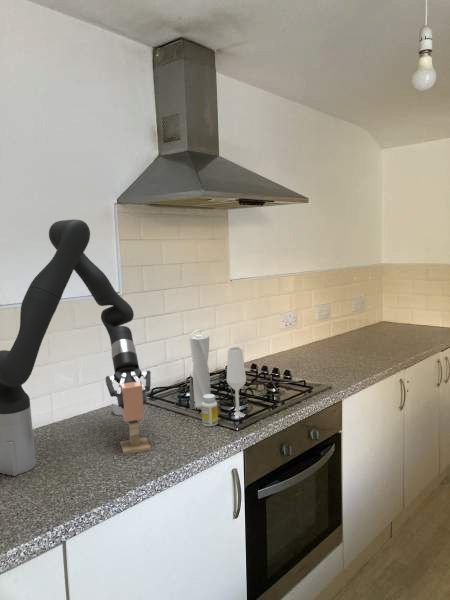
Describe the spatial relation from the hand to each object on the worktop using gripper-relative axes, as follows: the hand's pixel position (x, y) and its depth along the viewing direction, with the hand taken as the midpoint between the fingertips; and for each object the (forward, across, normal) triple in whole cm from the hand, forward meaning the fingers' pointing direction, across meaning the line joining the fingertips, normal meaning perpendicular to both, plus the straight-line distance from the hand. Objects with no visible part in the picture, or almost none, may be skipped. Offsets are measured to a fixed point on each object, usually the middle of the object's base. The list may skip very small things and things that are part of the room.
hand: (133, 405), depth 146 cm
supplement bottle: (+3, +26, +17) cm, 31 cm away
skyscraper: (-10, +29, +30) cm, 43 cm away
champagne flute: (+2, +37, +18) cm, 41 cm away
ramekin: (-14, +1, +34) cm, 37 cm away
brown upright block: (+2, 0, +4) cm, 5 cm away
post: (+8, 0, +11) cm, 14 cm away
